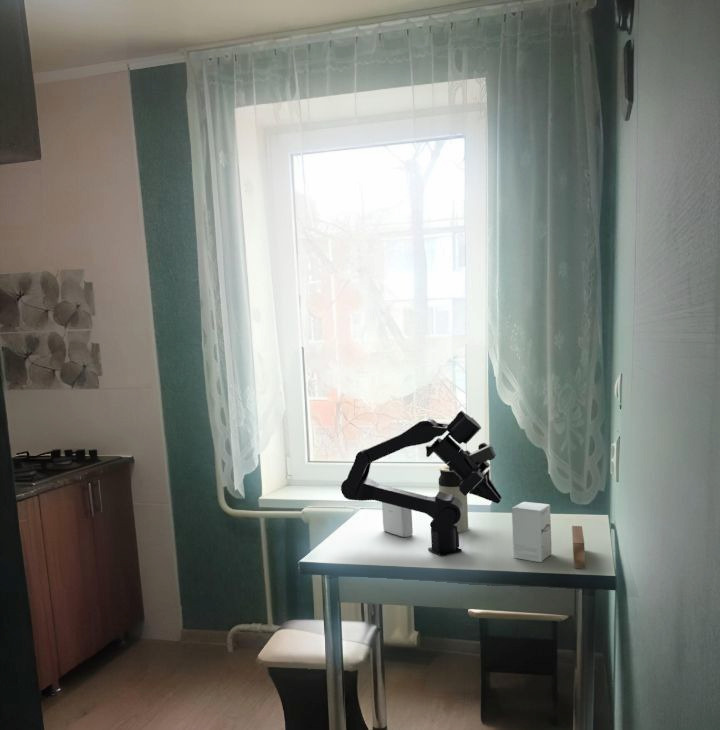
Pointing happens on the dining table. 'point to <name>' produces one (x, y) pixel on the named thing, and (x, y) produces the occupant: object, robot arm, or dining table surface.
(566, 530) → the dining table surface
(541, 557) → the supplement box
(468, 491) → the robot arm
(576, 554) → the board
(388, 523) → the photo printer
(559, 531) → the dining table surface
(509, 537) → the dining table surface
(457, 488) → the travel mug
